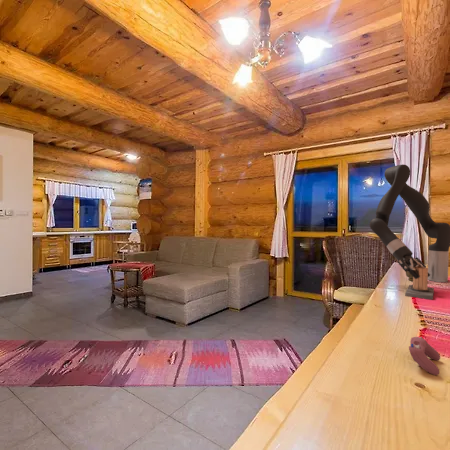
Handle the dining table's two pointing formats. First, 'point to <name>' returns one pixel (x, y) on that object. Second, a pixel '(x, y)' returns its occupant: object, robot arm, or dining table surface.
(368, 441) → the dining table surface
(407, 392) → the dining table surface
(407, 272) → the bronze rounded piece
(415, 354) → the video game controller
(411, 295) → the shaft stand
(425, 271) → the copper collar
